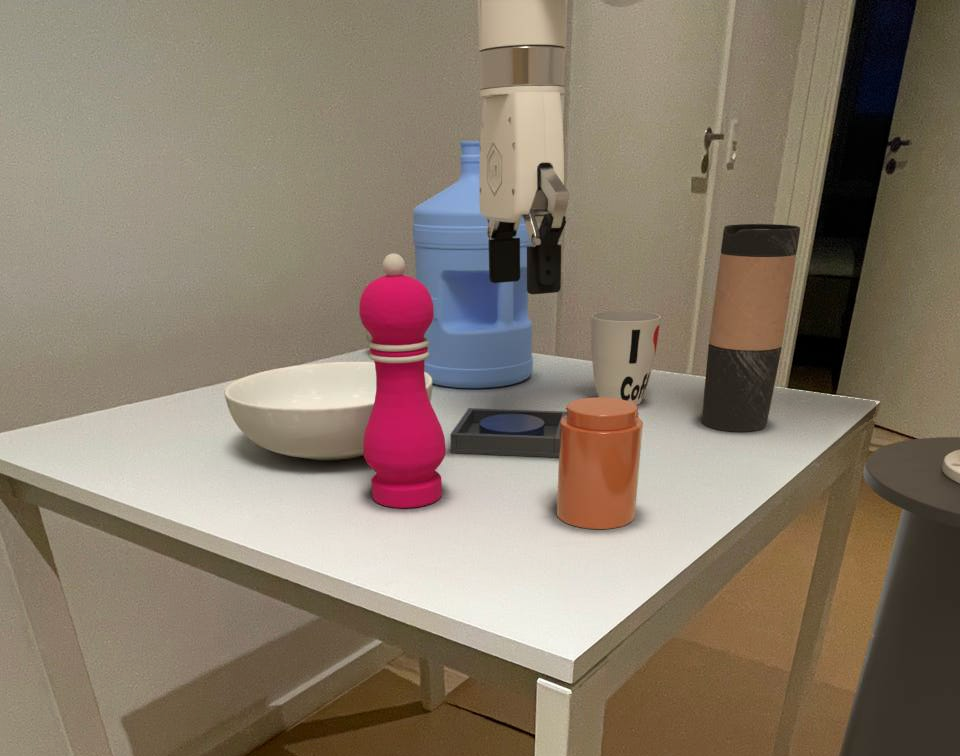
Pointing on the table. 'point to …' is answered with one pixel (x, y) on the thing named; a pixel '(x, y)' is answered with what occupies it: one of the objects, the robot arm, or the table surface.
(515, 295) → the water jug
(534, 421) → the jar lid
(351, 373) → the serving bowl
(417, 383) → the pepper mill
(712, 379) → the travel mug
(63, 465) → the table surface
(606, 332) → the cup
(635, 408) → the jar
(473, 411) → the tray
